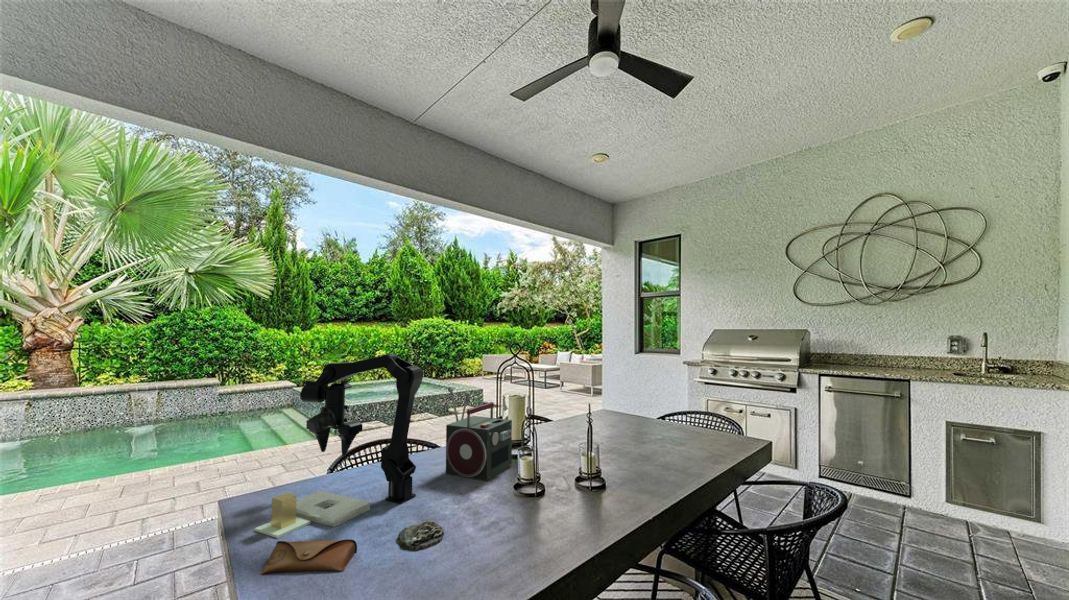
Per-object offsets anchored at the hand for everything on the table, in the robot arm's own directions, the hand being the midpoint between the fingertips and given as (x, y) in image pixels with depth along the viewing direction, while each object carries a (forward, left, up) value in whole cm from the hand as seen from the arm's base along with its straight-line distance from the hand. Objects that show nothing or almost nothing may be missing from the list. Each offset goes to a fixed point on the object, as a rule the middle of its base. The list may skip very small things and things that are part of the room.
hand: (333, 453), depth 136 cm
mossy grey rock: (-44, +11, -13) cm, 47 cm away
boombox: (-29, -38, -12) cm, 49 cm away
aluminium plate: (-10, +10, -12) cm, 19 cm away
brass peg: (-8, +21, -11) cm, 26 cm away
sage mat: (-8, +21, -12) cm, 26 cm away
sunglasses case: (-29, +30, -13) cm, 44 cm away
